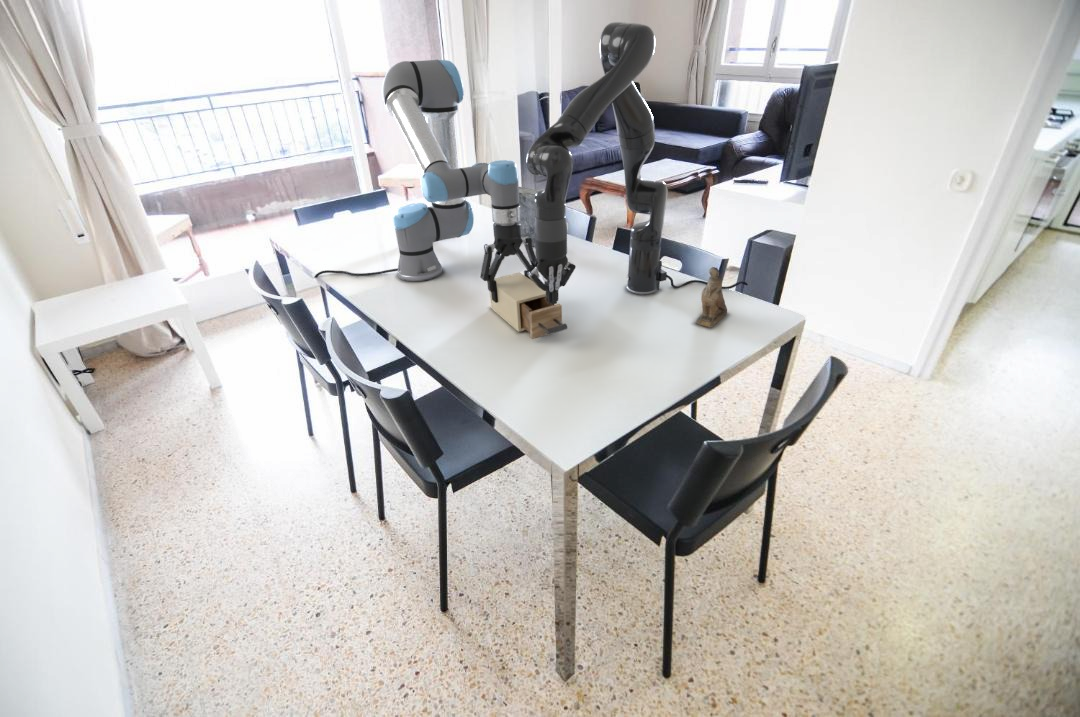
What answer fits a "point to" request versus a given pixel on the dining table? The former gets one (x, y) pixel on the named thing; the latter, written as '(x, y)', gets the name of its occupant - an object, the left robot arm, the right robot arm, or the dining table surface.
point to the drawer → (541, 317)
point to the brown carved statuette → (712, 301)
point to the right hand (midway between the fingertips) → (552, 303)
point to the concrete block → (527, 212)
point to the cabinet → (514, 297)
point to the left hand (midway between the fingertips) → (511, 296)
